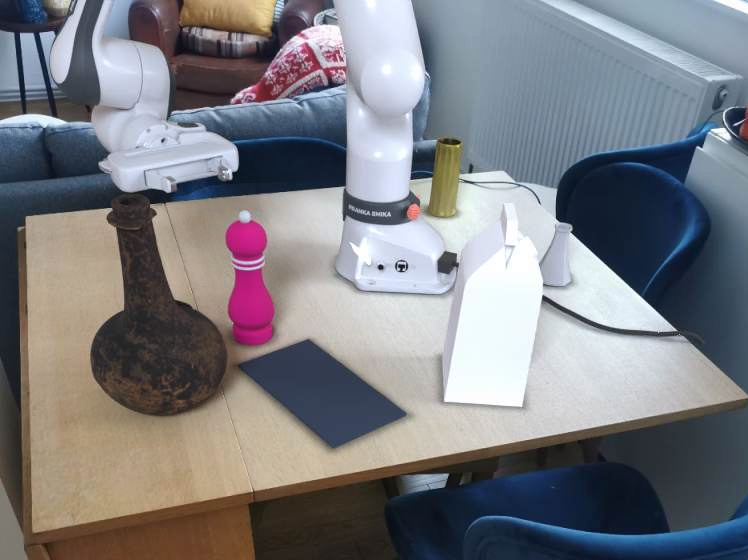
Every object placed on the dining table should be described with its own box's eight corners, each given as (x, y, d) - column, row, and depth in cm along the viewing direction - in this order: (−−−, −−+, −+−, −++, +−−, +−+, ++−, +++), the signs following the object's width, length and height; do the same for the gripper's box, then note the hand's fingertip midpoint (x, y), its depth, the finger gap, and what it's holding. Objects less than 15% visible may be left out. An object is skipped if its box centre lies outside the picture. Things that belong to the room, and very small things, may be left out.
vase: (425, 215, 159) (432, 144, 149) (429, 204, 164) (436, 134, 154) (454, 219, 159) (463, 147, 149) (457, 208, 163) (466, 137, 153)
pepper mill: (267, 350, 118) (260, 224, 104) (223, 343, 119) (210, 217, 105) (281, 327, 123) (276, 204, 109) (238, 320, 124) (228, 197, 110)
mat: (238, 366, 114) (237, 364, 114) (308, 341, 121) (308, 338, 120) (333, 448, 101) (333, 446, 101) (406, 415, 108) (406, 412, 108)
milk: (442, 357, 120) (464, 190, 102) (514, 362, 120) (549, 196, 102) (444, 401, 111) (468, 227, 93) (522, 406, 111) (561, 234, 93)
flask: (528, 281, 140) (539, 229, 133) (537, 266, 145) (548, 214, 138) (566, 291, 138) (579, 238, 132) (574, 274, 143) (587, 223, 136)
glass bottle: (248, 373, 113) (233, 182, 94) (200, 445, 100) (172, 241, 81) (136, 353, 115) (100, 162, 96) (76, 420, 102) (20, 216, 83)
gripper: (89, 140, 113) (133, 171, 106) (209, 121, 123) (256, 148, 116) (97, 183, 117) (139, 216, 110) (212, 161, 128) (258, 189, 121)
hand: (200, 181), depth 113 cm, fingers open, 8 cm apart
